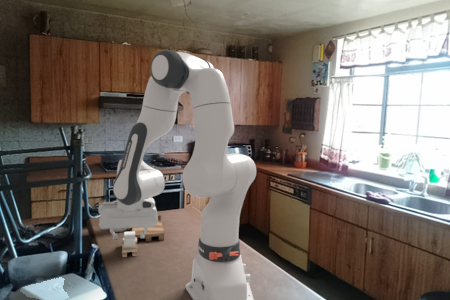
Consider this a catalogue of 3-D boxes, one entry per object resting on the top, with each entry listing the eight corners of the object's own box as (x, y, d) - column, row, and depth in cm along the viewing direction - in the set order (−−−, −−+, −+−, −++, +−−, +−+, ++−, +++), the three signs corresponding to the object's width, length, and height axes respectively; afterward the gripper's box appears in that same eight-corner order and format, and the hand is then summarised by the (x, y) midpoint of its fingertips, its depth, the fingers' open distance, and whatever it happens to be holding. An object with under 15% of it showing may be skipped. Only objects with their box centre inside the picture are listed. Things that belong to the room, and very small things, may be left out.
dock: (164, 240, 130) (164, 227, 129) (132, 242, 126) (132, 229, 126) (160, 226, 145) (160, 215, 144) (132, 227, 142) (132, 216, 141)
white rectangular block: (135, 246, 116) (135, 238, 116) (124, 247, 115) (124, 239, 115) (135, 238, 123) (135, 231, 123) (124, 239, 122) (124, 231, 122)
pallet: (137, 256, 115) (137, 248, 115) (122, 257, 114) (122, 249, 114) (136, 244, 125) (136, 237, 125) (122, 245, 124) (122, 238, 123)
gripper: (97, 204, 112) (97, 243, 114) (159, 203, 117) (157, 240, 119) (99, 199, 118) (99, 236, 120) (157, 198, 123) (156, 233, 125)
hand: (129, 238), depth 119 cm, fingers open, 8 cm apart
